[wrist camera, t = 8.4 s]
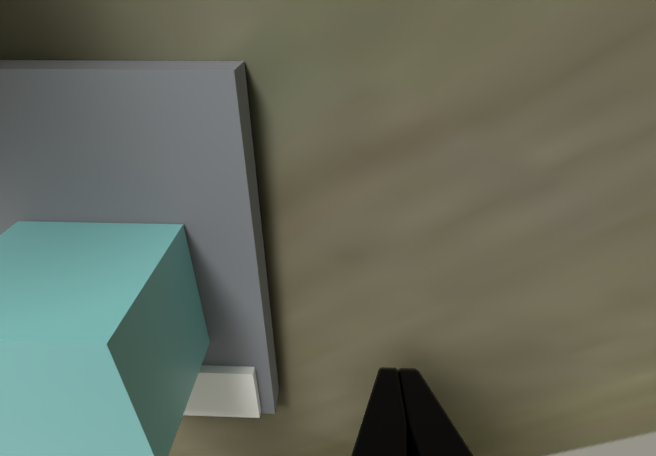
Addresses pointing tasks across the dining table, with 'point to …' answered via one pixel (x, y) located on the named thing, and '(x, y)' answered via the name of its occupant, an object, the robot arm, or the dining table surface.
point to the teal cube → (96, 338)
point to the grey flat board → (154, 189)
